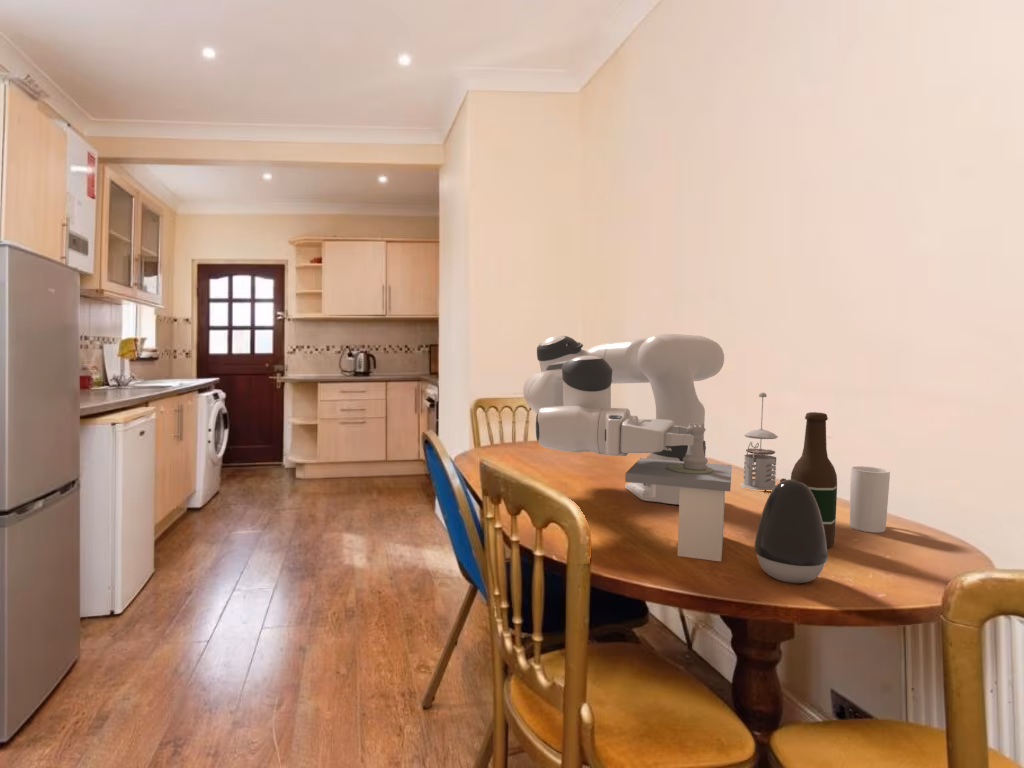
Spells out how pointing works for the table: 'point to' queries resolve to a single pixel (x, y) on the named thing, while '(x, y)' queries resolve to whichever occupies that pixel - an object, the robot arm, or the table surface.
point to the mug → (869, 498)
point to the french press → (759, 461)
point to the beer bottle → (818, 472)
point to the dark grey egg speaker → (791, 534)
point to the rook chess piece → (695, 449)
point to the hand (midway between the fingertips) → (695, 436)
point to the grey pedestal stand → (691, 502)
